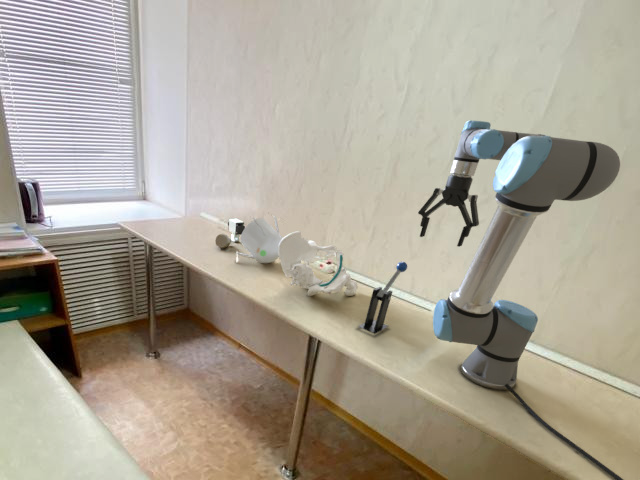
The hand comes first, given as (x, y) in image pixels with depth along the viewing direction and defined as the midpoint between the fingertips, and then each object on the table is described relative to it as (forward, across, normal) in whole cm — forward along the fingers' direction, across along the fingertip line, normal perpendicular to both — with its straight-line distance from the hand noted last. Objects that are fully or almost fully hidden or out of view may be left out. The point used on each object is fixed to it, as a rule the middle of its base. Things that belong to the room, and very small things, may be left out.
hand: (440, 241), depth 147 cm
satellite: (+29, +80, +2) cm, 85 cm away
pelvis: (+29, +41, +12) cm, 51 cm away
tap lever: (+14, +5, +18) cm, 24 cm away
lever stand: (+29, +6, +25) cm, 39 cm away
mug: (+29, +106, +2) cm, 110 cm away
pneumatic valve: (+29, +110, -11) cm, 114 cm away
